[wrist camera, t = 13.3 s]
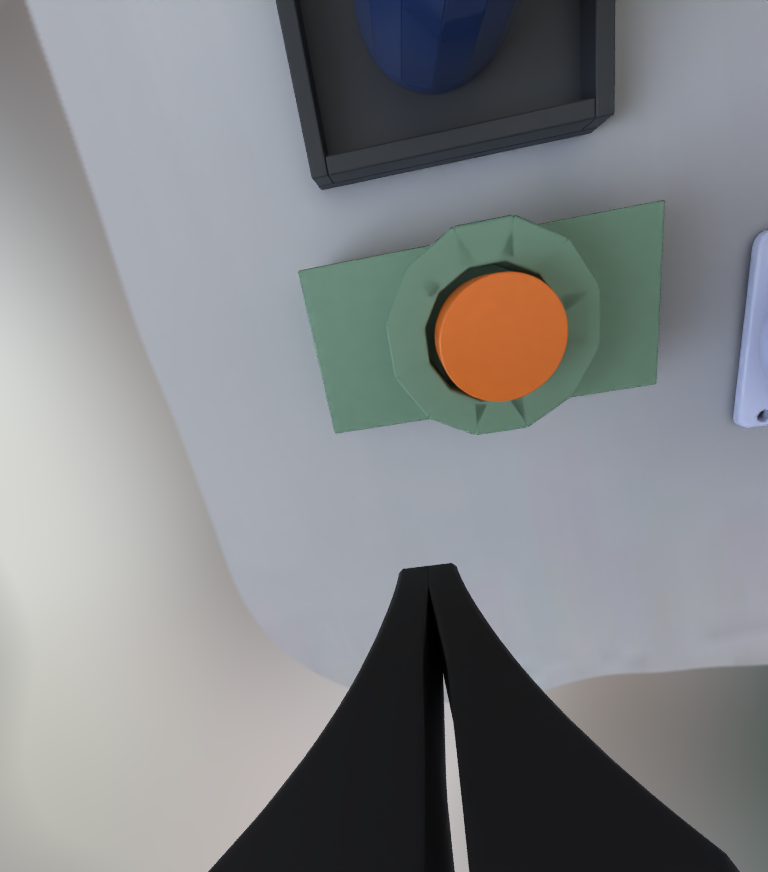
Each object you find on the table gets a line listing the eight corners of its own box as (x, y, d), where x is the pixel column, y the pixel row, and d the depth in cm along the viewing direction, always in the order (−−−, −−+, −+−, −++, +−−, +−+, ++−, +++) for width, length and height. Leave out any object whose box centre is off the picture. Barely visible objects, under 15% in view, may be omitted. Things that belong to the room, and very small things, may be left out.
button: (545, 262, 12) (567, 259, 11) (550, 378, 14) (570, 391, 12) (427, 284, 13) (430, 284, 11) (441, 396, 14) (447, 410, 12)
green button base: (616, 208, 16) (706, 176, 11) (614, 373, 18) (689, 404, 13) (314, 267, 17) (281, 259, 12) (346, 415, 19) (328, 457, 15)
